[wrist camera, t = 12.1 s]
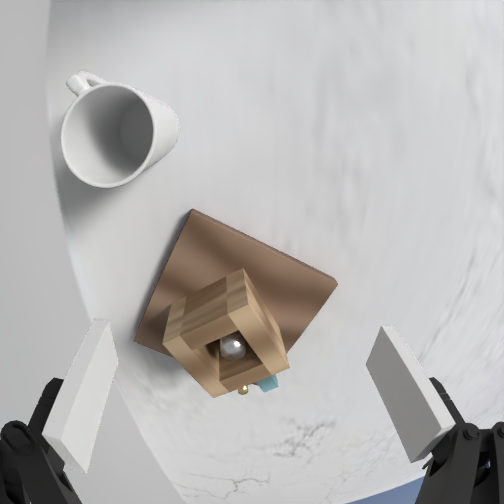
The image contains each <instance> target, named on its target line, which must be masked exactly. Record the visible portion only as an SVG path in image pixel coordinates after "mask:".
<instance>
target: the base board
mask: <svg viewBox="0 0 504 504" xmlns="http://www.w3.org/2000/svg"><path fill="white" fill-rule="evenodd" d="M242 268H243V269H244V270H245V272H246V274H247V275H248V277H249V279H250V280H251V282H252V284H253V285H254V287H255V289H256V290H257V292H258V293H259V295H260V297H261V298H262V300H263V302H264V303H265V305H266V307H267V308H268V310H269V312H270V313H271V315H272V317H273V318H274V320H275V321H276V323H277V325H278V326H279V329H280V333H281V337H282V340H283V344H284V348H285V351H286V354H287V352H288V351H289V350H290V349H291V347H292V346H293V345H294V344H295V342H296V341H297V340H298V338H299V337H300V336H301V334H302V333H303V332H304V330H305V329H306V328H307V327H308V325H309V324H310V323H311V321H312V320H313V318H314V317H315V316H316V314H317V313H318V312H319V310H320V309H321V308H322V306H323V305H324V303H325V302H326V301H327V299H328V298H329V297H330V295H331V294H332V292H333V291H334V289H335V288H336V287H337V285H338V283H337V282H336V280H335V279H334V278H333V277H331V276H329V275H327V274H325V273H323V272H321V271H319V270H317V269H315V268H313V267H311V266H309V265H307V264H305V263H303V262H301V261H299V260H297V259H295V258H293V257H291V256H289V255H287V254H285V253H283V252H281V251H279V250H277V249H275V248H273V247H271V246H268V245H266V244H264V243H262V242H260V241H258V240H256V239H254V238H252V237H250V236H248V235H246V234H244V233H242V232H240V231H238V230H236V229H234V228H232V227H230V226H228V225H225V224H223V223H221V222H219V221H217V220H215V219H213V218H211V217H209V216H207V215H205V214H203V213H201V212H199V211H197V210H194V209H192V211H191V213H190V215H189V217H188V219H187V221H186V223H185V225H184V227H183V229H182V231H181V233H180V235H179V238H178V240H177V242H176V244H175V246H174V248H173V250H172V252H171V255H170V257H169V259H168V261H167V263H166V265H165V268H164V270H163V272H162V274H161V277H160V279H159V281H158V283H157V286H156V288H155V290H154V292H153V295H152V297H151V299H150V302H149V304H148V306H147V309H146V311H145V313H144V316H143V318H142V321H141V323H140V326H139V328H138V330H137V333H136V336H135V339H134V341H135V342H137V343H139V344H142V345H144V346H146V347H149V348H151V349H154V350H156V351H159V352H161V353H164V354H166V355H169V356H171V357H174V356H173V355H172V354H171V353H170V352H169V351H168V350H167V348H166V347H165V346H164V345H163V344H162V343H163V338H164V334H165V330H166V325H167V321H168V317H169V312H170V308H171V304H172V303H174V302H176V301H178V300H180V299H182V298H184V297H186V296H188V295H190V294H192V293H194V292H196V291H198V290H200V289H202V288H204V287H206V286H208V285H210V284H212V283H214V282H216V281H218V280H220V279H222V278H224V277H226V276H228V275H230V274H232V273H234V272H236V271H238V270H240V269H242ZM174 358H175V357H174ZM252 384H254V385H258V384H257V383H256V382H254V383H252Z"/></svg>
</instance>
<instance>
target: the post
mask: <svg viewBox="0 0 504 504" xmlns="http://www.w3.org/2000/svg"><path fill="white" fill-rule="evenodd" d="M220 353H221V355H222V357H224V358H225V359H227V360H238V359H240V358H242V357H243V356H244V355H245V353H246V348H245V339H244V336H243V335H242V334H241V332H240V331H239V330H237V331H235V332H233V333H231V334H229V335H226V336H224V337H222V338H220Z"/></svg>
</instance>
